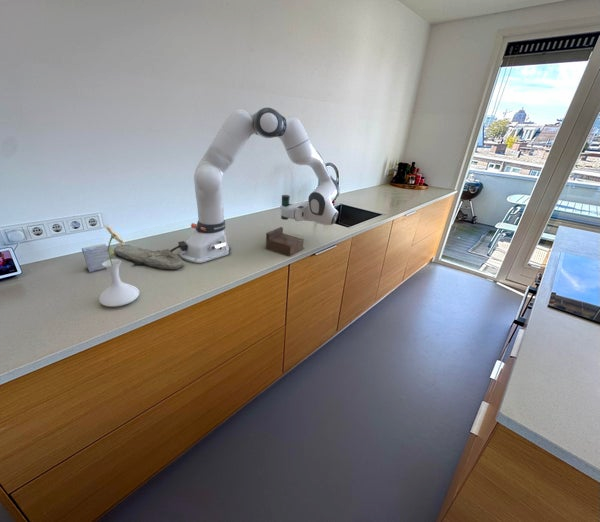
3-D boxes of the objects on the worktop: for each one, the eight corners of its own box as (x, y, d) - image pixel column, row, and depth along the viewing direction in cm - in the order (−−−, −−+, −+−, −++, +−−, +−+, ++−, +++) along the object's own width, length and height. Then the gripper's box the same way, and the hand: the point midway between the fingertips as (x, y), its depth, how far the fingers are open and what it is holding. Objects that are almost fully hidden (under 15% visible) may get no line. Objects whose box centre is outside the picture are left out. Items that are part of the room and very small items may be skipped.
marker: (285, 220, 149) (286, 197, 144) (279, 218, 151) (280, 195, 146) (290, 218, 152) (291, 195, 147) (283, 216, 154) (284, 194, 149)
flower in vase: (136, 308, 91) (120, 234, 81) (95, 312, 88) (72, 236, 77) (144, 287, 103) (130, 220, 92) (107, 290, 99) (89, 221, 88)
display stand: (289, 256, 134) (290, 240, 131) (265, 248, 141) (266, 233, 137) (302, 248, 144) (304, 233, 140) (280, 241, 150) (280, 226, 146)
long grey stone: (128, 250, 131) (108, 259, 123) (125, 239, 129) (104, 248, 120) (190, 263, 120) (173, 274, 112) (188, 251, 118) (170, 262, 109)
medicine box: (110, 262, 117) (105, 243, 113) (113, 266, 114) (108, 246, 110) (87, 268, 112) (81, 247, 108) (89, 272, 109) (83, 251, 105)
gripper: (317, 201, 150) (294, 196, 156) (296, 209, 134) (272, 203, 140) (316, 213, 152) (294, 208, 159) (295, 222, 136) (272, 216, 143)
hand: (283, 206), depth 149 cm, fingers closed on marker, 4 cm apart
